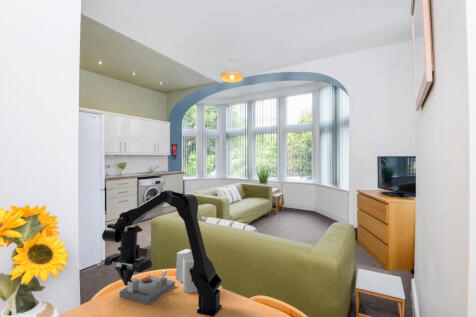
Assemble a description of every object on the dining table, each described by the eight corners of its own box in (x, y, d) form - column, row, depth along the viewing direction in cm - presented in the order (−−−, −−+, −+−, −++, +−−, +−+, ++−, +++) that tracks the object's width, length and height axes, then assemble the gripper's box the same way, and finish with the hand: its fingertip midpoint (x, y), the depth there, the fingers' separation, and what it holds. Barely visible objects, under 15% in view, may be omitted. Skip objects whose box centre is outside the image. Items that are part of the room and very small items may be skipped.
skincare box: (185, 275, 100) (186, 248, 101) (192, 277, 98) (193, 249, 99) (175, 280, 95) (176, 252, 96) (182, 283, 93) (183, 254, 94)
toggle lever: (164, 283, 88) (168, 270, 88) (161, 286, 86) (165, 272, 86) (160, 281, 89) (165, 268, 89) (157, 283, 87) (161, 270, 87)
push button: (151, 279, 91) (152, 275, 91) (146, 282, 88) (146, 278, 88) (146, 277, 92) (146, 273, 93) (140, 281, 89) (140, 277, 90)
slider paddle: (138, 288, 83) (139, 279, 84) (132, 292, 81) (132, 282, 81) (133, 287, 84) (134, 278, 84) (127, 291, 81) (127, 281, 82)
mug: (196, 294, 84) (197, 262, 85) (179, 293, 85) (180, 261, 86) (203, 281, 94) (203, 253, 95) (187, 281, 95) (188, 252, 96)
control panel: (174, 286, 90) (175, 276, 91) (148, 305, 77) (149, 293, 77) (148, 279, 95) (148, 270, 96) (119, 296, 82) (120, 285, 82)
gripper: (162, 240, 89) (161, 280, 88) (128, 235, 96) (126, 272, 95) (141, 248, 79) (139, 294, 77) (104, 242, 86) (102, 284, 84)
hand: (126, 285), depth 84 cm, fingers closed
